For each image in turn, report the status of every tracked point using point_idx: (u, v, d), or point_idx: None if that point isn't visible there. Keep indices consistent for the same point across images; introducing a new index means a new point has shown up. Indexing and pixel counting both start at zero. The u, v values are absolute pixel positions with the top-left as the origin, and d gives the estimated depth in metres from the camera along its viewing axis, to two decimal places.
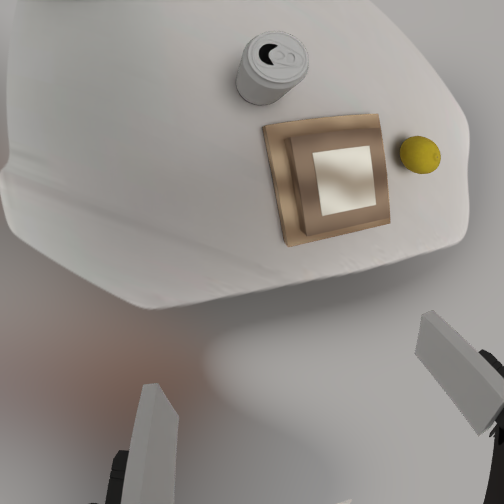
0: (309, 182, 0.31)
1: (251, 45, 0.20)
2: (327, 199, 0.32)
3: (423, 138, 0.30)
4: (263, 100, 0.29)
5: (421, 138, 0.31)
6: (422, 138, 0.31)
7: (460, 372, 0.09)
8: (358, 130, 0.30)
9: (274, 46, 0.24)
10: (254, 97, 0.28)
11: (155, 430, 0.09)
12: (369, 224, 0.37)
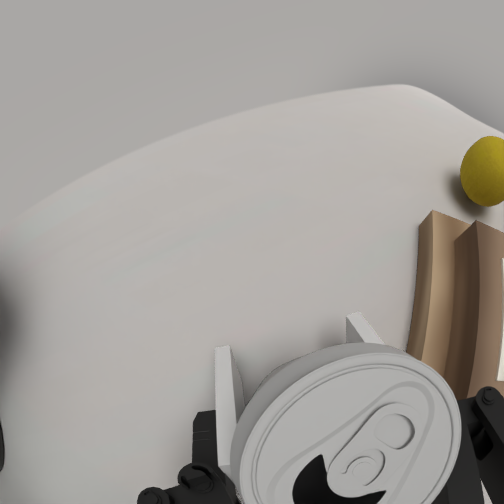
0: None
1: None
2: None
3: (479, 152, 0.16)
4: None
5: (477, 155, 0.16)
6: (477, 154, 0.16)
7: None
8: (481, 267, 0.12)
9: None
10: None
11: (235, 387, 0.11)
12: None
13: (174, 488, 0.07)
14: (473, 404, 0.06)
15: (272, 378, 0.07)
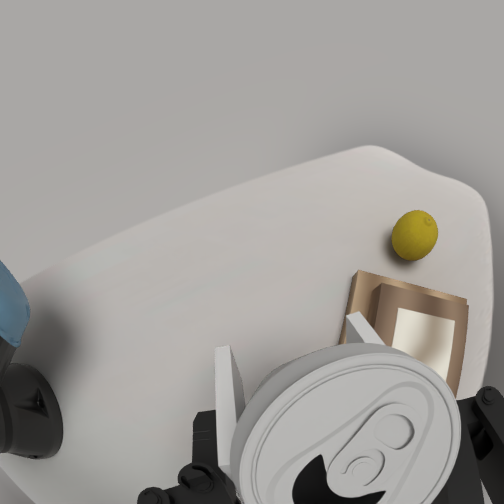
0: None
1: None
2: None
3: (402, 226, 0.28)
4: None
5: (401, 228, 0.28)
6: (401, 227, 0.28)
7: None
8: (378, 314, 0.25)
9: None
10: None
11: (235, 387, 0.11)
12: None
13: (174, 488, 0.07)
14: (473, 404, 0.06)
15: (272, 378, 0.07)
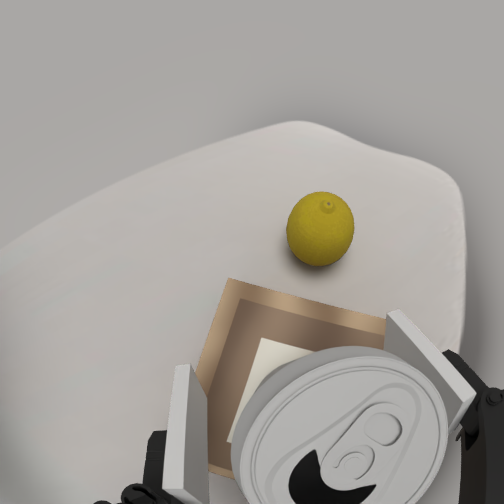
0: None
1: None
2: None
3: (292, 215, 0.21)
4: None
5: (290, 219, 0.21)
6: (291, 217, 0.21)
7: (422, 371, 0.09)
8: (227, 344, 0.18)
9: None
10: None
11: (191, 408, 0.10)
12: None
13: None
14: None
15: (269, 379, 0.07)
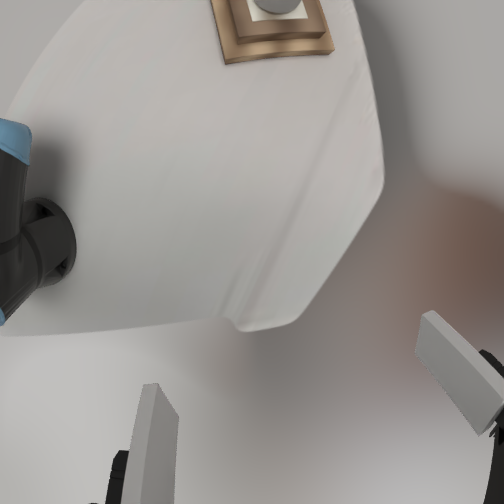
0: (279, 24, 0.27)
1: None
2: (293, 13, 0.26)
3: None
4: None
5: None
6: None
7: (460, 372, 0.09)
8: None
9: None
10: None
11: (155, 430, 0.09)
12: None
13: None
14: None
15: None
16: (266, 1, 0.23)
